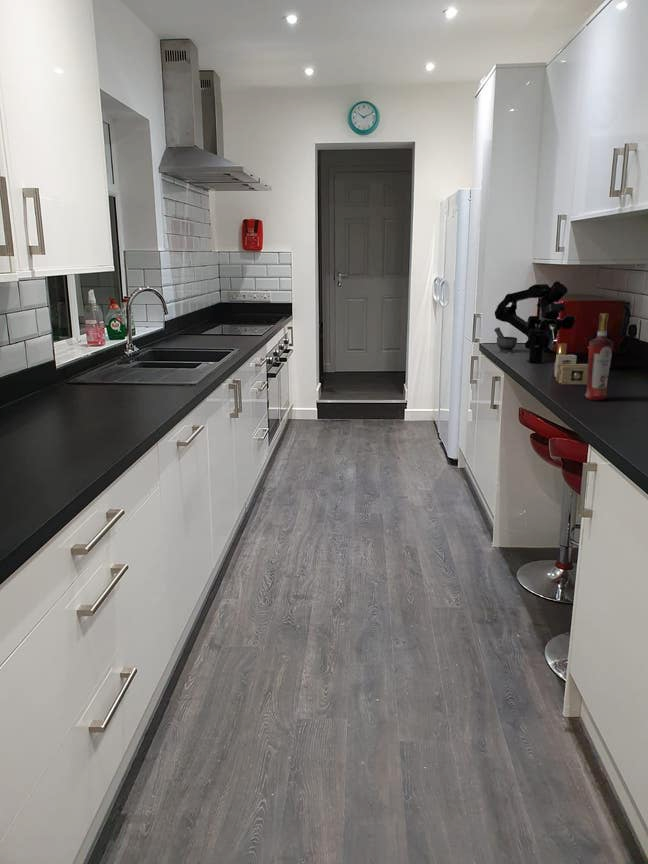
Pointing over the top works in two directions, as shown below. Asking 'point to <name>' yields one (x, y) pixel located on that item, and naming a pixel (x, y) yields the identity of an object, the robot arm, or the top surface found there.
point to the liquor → (599, 362)
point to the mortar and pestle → (505, 341)
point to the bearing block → (566, 371)
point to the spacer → (564, 357)
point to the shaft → (562, 351)
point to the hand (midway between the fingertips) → (553, 338)
